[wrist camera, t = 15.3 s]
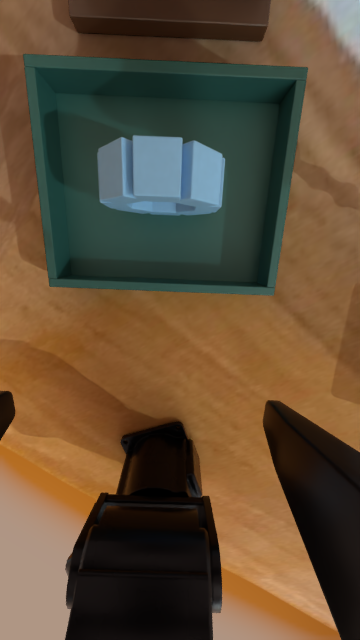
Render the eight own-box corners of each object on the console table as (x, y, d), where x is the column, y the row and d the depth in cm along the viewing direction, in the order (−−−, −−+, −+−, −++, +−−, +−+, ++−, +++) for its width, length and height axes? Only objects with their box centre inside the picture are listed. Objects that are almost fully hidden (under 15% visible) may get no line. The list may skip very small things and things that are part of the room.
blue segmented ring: (211, 217, 18) (229, 199, 12) (119, 213, 18) (83, 193, 12) (214, 180, 18) (234, 138, 11) (117, 176, 18) (79, 132, 11)
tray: (260, 288, 20) (274, 295, 18) (67, 281, 20) (49, 286, 17) (286, 97, 17) (308, 66, 14) (49, 86, 17) (22, 53, 14)
